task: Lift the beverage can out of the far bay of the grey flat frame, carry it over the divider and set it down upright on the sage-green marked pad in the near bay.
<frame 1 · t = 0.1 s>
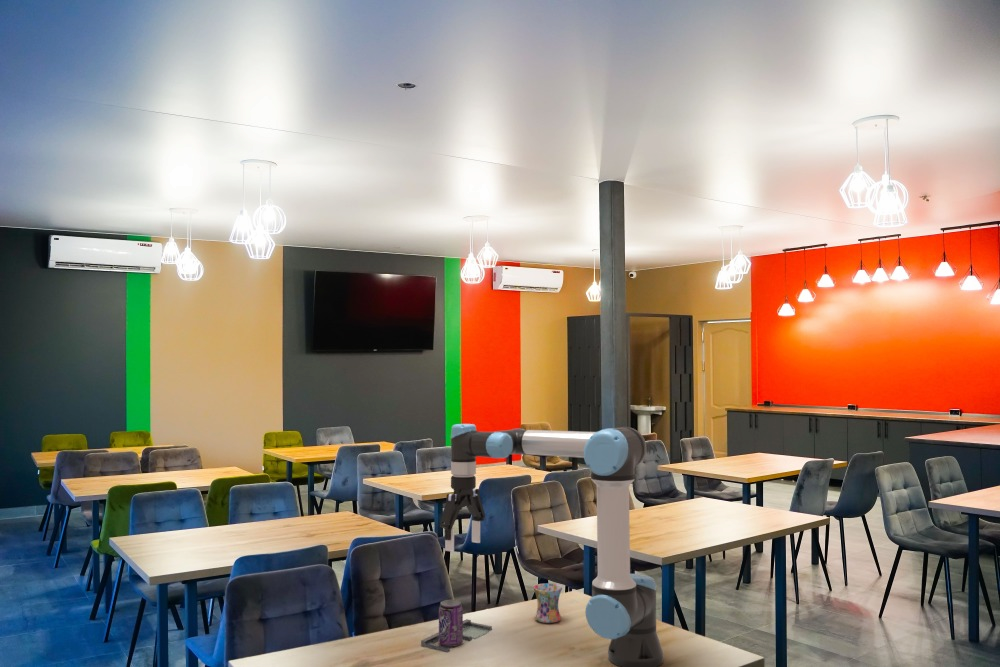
hand: (463, 546, 229), 28 cm above the table, fingers open, 13 cm apart
beverage can: (450, 644, 225), on the table
grey flat frame: (458, 637, 231), on the table
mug: (547, 619, 248), on the table
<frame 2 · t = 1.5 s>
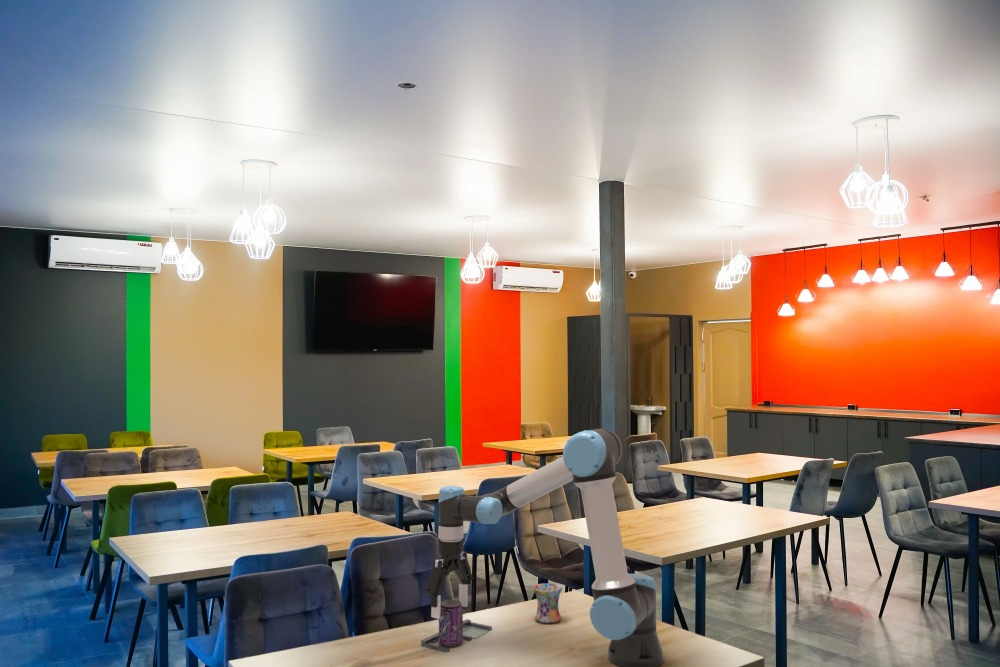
hand: (449, 611, 226), 9 cm above the table, fingers open, 13 cm apart
nothing on the table moved.
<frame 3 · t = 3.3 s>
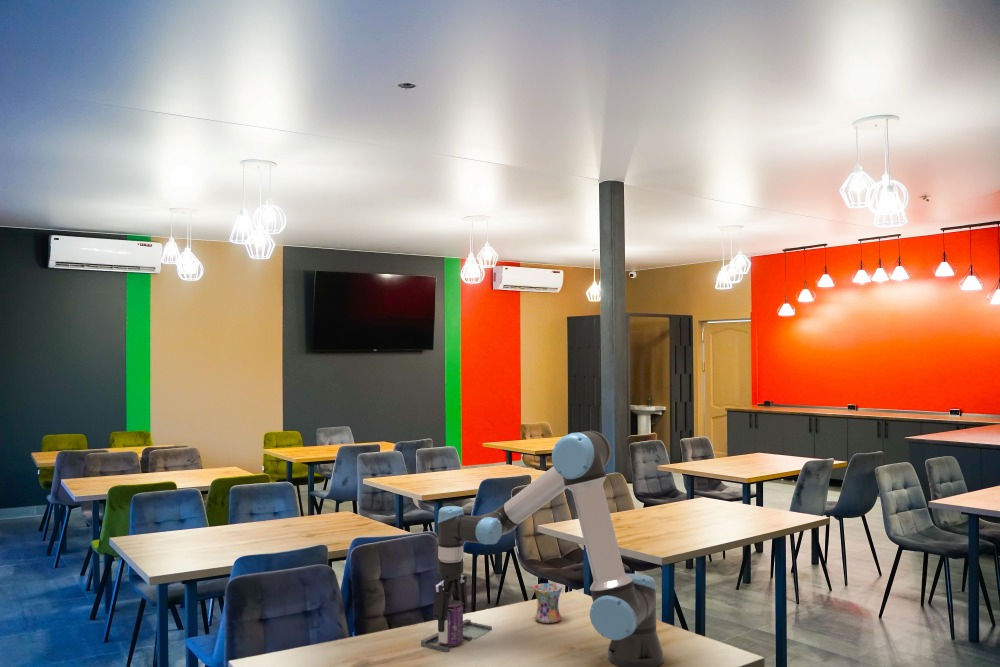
hand: (450, 638, 225), 2 cm above the table, fingers closed on beverage can, 7 cm apart
beverage can: (450, 644, 225), on the table, touching gripper
everything else where it was.
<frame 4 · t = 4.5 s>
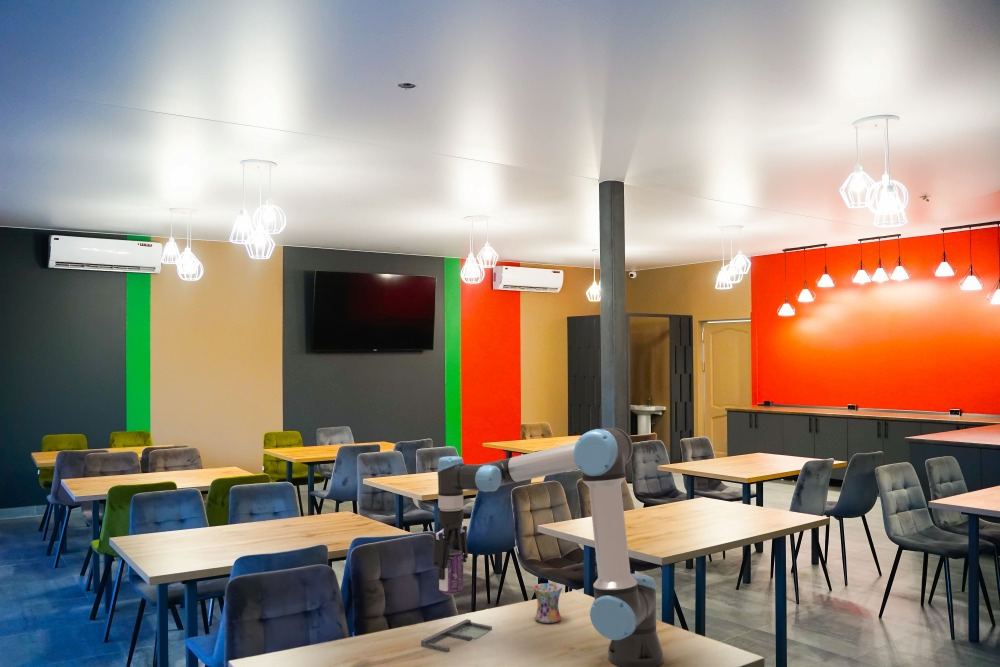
hand: (451, 587, 226), 16 cm above the table, fingers closed on beverage can, 7 cm apart
beverage can: (451, 593, 226), point 15 cm above the table, touching gripper
everything else where it was.
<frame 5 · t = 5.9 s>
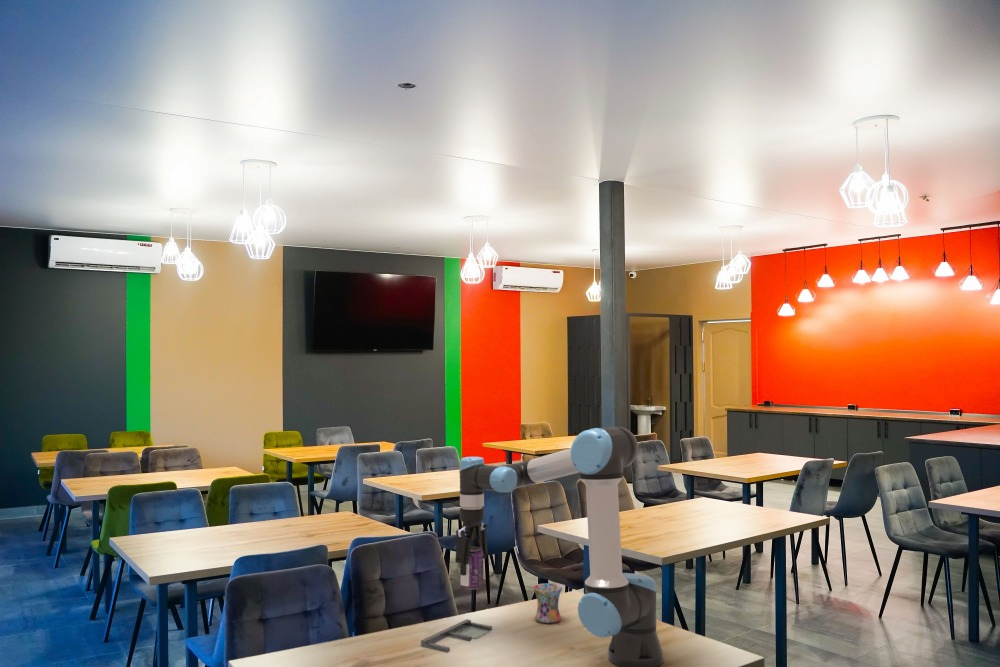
hand: (471, 582, 236), 15 cm above the table, fingers closed on beverage can, 7 cm apart
beverage can: (471, 588, 236), point 14 cm above the table, touching gripper
everything else where it was.
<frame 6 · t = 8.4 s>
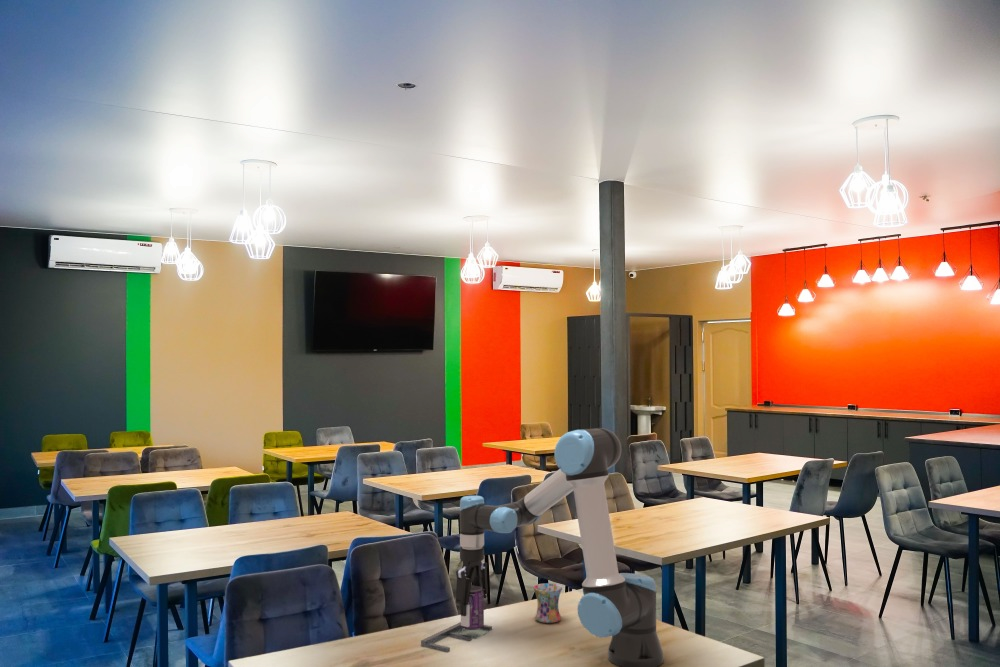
hand: (472, 622, 235), 3 cm above the table, fingers closed on beverage can, 7 cm apart
beverage can: (472, 628, 235), point 1 cm above the table, touching gripper
everything else where it was.
when the fingers open (3 cm above the table, at t = 8.7 s): beverage can drops 1 cm, resting on grey flat frame.
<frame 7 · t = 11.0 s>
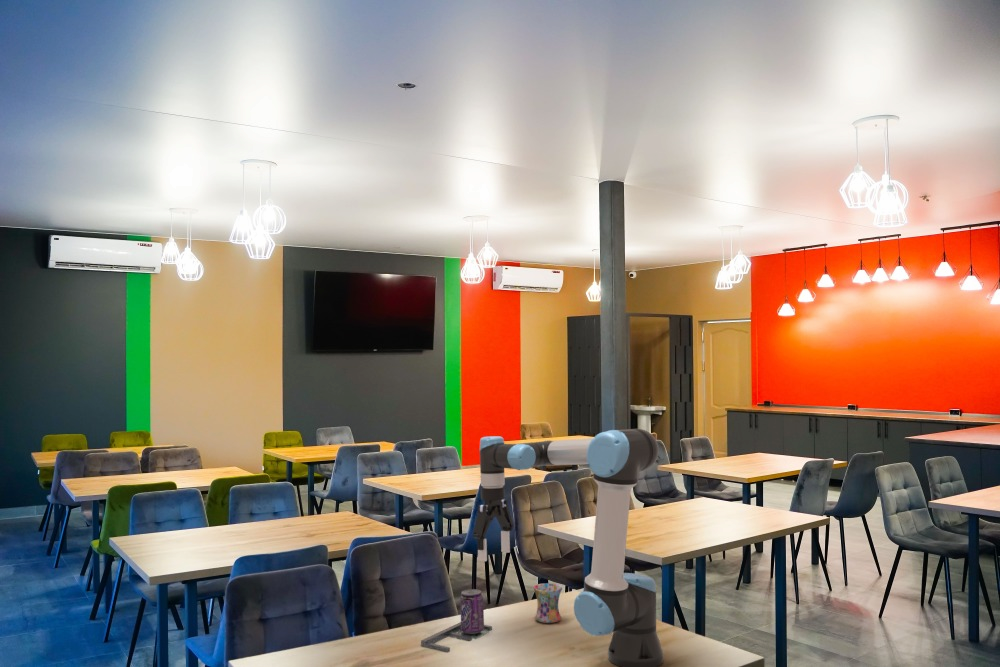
hand: (494, 556, 235), 23 cm above the table, fingers open, 13 cm apart
beverage can: (472, 632, 235), resting on grey flat frame
everything else where it was.
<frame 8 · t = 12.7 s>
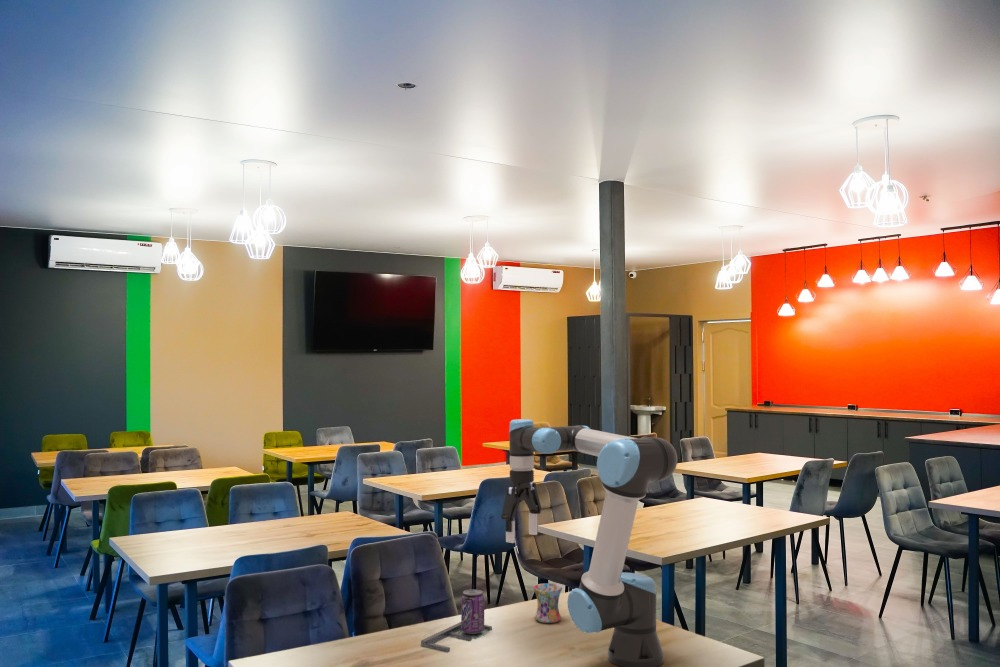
hand: (522, 538, 236), 29 cm above the table, fingers open, 13 cm apart
nothing on the table moved.
at the end: beverage can inside the target area on the grey flat frame (0.4 cm from its centre), point 0.2 cm above the grey flat frame's base; beverage can tilted 1°; the gripper is holding nothing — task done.
